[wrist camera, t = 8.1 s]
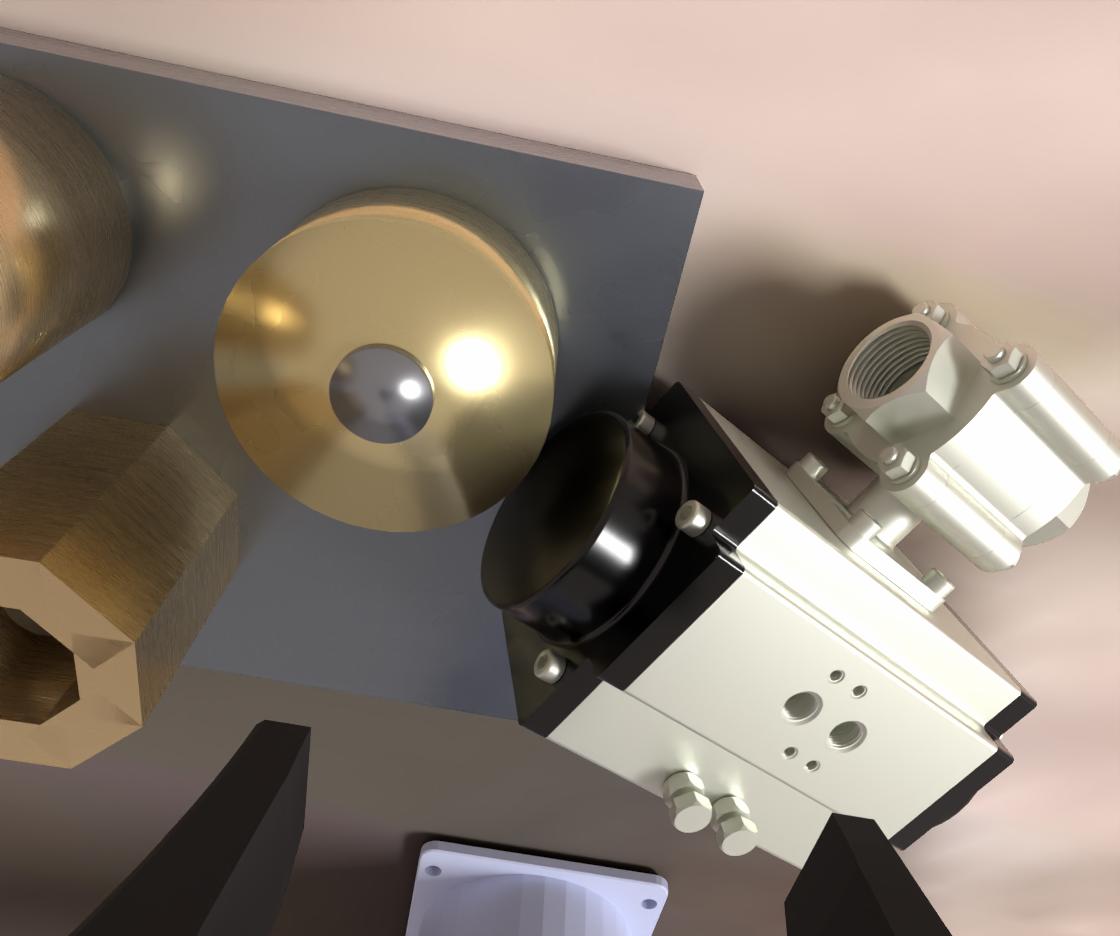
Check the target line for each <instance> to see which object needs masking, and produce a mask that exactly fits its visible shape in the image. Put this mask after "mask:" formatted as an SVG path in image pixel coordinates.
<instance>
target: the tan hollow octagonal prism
mask: <svg viewBox="0 0 1120 936" xmlns="http://www.w3.org/2000/svg"><path fill="white" fill-rule="evenodd" d="M238 568H239V559H238V494H237V493H236V492H235V491H234V490H233V489H232V488H231V487H230V486H229V485H228V484H227V483H226V482H225V481H224V480H223V479H222V478H221V477H220V476H219V475H218V474H217V473H216V472H215V471H214V470H212V469H211V468H210V467H209V466H208V465H207V464H206V463H205V462H204V461H203V460H202V459H201V458H200V457H199V456H198V455H197V454H196V453H195V452H194V451H193V450H192V449H191V448H190V447H189V446H188V445H187V444H186V443H185V442H184V441H183V440H182V439H181V438H180V437H179V436H178V435H177V434H176V433H175V432H174V431H173V430H172V429H171V428H170V427H169V426H164V425H158V424H152V423H146V422H140V421H134V420H128V419H122V418H116V417H110V416H104V415H99V414H93V413H87V412H81V411H75V410H70V411H69V412H68V413H67V414H65V415H64V416H63V417H62V418H60V419H59V420H58V421H57V422H55V423H54V424H53V425H51V426H50V427H49V428H48V429H46V430H45V431H44V432H43V433H41V434H40V435H39V436H37V437H36V438H35V439H34V440H32V441H31V442H30V443H29V444H27V445H26V446H25V447H24V448H22V449H21V450H20V451H18V452H17V453H16V454H15V455H13V456H12V457H11V458H10V459H8V460H7V461H6V462H5V463H3V464H2V465H1V466H0V759H7V760H14V761H21V762H28V763H35V764H42V765H49V766H56V767H63V768H70V769H71V768H73V767H75V766H76V765H78V764H80V763H82V762H83V761H85V760H87V759H88V758H90V757H92V756H93V755H95V754H97V753H99V752H100V751H102V750H104V749H105V748H107V747H109V746H110V745H112V744H114V743H115V742H117V741H119V740H121V739H122V738H124V737H126V736H127V735H129V734H131V733H132V732H134V731H136V730H138V729H139V728H141V727H143V725H144V723H145V722H146V720H147V718H148V717H149V715H150V713H151V712H152V710H153V708H154V707H155V705H156V703H157V702H158V700H159V698H160V697H161V695H162V694H163V692H164V690H165V689H166V687H167V685H168V684H169V682H170V680H171V679H172V677H173V675H174V674H175V672H176V670H177V669H178V667H179V665H180V664H181V662H182V660H183V659H184V657H185V655H186V654H187V652H188V651H189V649H190V647H191V646H192V644H193V642H194V641H195V639H196V637H197V636H198V634H199V632H200V631H201V629H202V627H203V626H204V624H205V622H206V621H207V619H208V617H209V616H210V614H211V612H212V611H213V609H214V608H215V606H216V604H217V603H218V601H219V599H220V598H221V596H222V594H223V593H224V591H225V589H226V588H227V586H228V584H229V583H230V581H231V579H232V578H233V576H234V574H235V573H236V571H237V569H238ZM4 607H7V608H14V609H20V610H21V611H22V612H24V613H25V614H26V615H27V616H29V617H30V618H31V619H32V620H34V621H35V622H36V623H37V624H38V625H40V626H41V627H42V628H43V629H45V630H46V631H47V632H48V633H50V634H51V635H52V636H47V635H40V634H36V633H33V632H31V631H28V630H26V629H24V628H23V627H21V626H20V625H18V624H17V623H16V622H15V621H13V620H12V619H11V617H10V616H9V615H8V614H7V612H6V611H5V609H4Z"/></svg>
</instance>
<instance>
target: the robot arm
mask: <svg viewBox="0 0 1120 936" xmlns="http://www.w3.org/2000/svg"><path fill="white" fill-rule="evenodd" d="M310 735H311V727H306V726H300V725H294V724H288V723H282V722H276V721H269V720H264V721H262V722H260V723H258V724H257V725H256V726H255V727H254V729H253V730H252V731H251V733H250V734H249V736H248V737H247V738H246V740H245V741H244V743H243V744H242V745H241V746H240V748H239V749H238V750H237V752H236V753H235V754H234V756H233V757H232V758H231V760H230V761H229V762H228V763H227V765H226V766H225V767H224V768H223V770H222V771H221V772H220V773H219V775H218V776H217V777H216V778H215V780H214V781H213V782H212V783H211V784H210V786H209V787H208V788H207V789H206V790H205V792H204V793H203V794H202V795H201V796H200V797H199V799H198V800H197V801H196V802H195V803H194V805H193V806H192V807H191V808H190V809H189V810H188V811H187V813H186V814H185V815H184V816H183V817H182V818H181V819H180V820H179V822H178V823H177V824H176V825H175V826H174V827H173V828H172V829H171V830H170V832H169V833H168V834H167V835H166V836H165V837H164V838H163V839H162V840H161V842H160V843H159V844H158V845H157V846H156V847H155V848H154V849H153V850H152V852H151V853H150V854H149V855H148V856H147V857H146V858H145V859H144V860H143V861H142V862H141V863H140V865H139V866H138V867H137V868H136V869H135V870H134V871H133V872H132V873H131V874H130V875H129V876H128V877H127V878H126V879H125V880H124V881H123V882H122V883H121V884H120V885H119V886H118V887H117V888H116V889H115V890H114V891H113V892H112V893H111V894H110V895H109V896H108V897H107V898H106V899H105V900H104V901H103V902H102V903H101V904H100V905H99V906H98V907H97V908H96V909H95V910H94V911H93V912H92V913H91V914H90V915H89V916H88V917H87V918H86V919H85V920H84V921H83V922H82V923H81V924H80V925H79V926H78V927H77V928H76V929H75V930H74V931H73V932H72V933H71V934H70V935H69V936H269V934H270V931H271V929H272V926H273V924H274V921H275V919H276V916H277V914H278V911H279V909H280V906H281V903H282V900H283V896H284V893H285V890H286V886H287V883H288V880H289V877H290V873H291V870H292V866H293V863H294V860H295V856H296V853H297V849H298V846H299V842H300V839H301V836H302V832H303V829H304V818H305V805H306V791H307V777H308V763H309V749H310ZM667 896H668V884H667V882H666V880H665V879H664V878H662V877H661V876H658V875H654V874H648V873H642V872H635V871H629V870H622V869H616V868H610V867H603V866H597V865H590V864H584V863H578V862H571V861H565V860H558V859H552V858H546V857H539V856H533V855H526V854H520V853H514V852H507V851H501V850H494V849H488V848H482V847H475V846H469V845H462V844H456V843H450V842H443V841H430V842H427V843H425V844H424V845H423V846H422V848H421V852H420V857H419V863H418V868H417V874H416V879H415V885H414V891H413V896H412V902H411V907H410V913H409V919H408V924H407V930H406V935H405V936H651V935H652V932H653V930H654V927H655V925H656V923H657V920H658V918H659V916H660V913H661V911H662V908H663V906H664V904H665V901H666V899H667ZM784 904H785V916H786V928H787V936H952V935H951V933H950V932H949V930H948V929H947V927H946V926H945V924H944V923H943V921H942V920H941V918H940V917H939V915H938V914H937V912H936V911H935V909H934V908H933V906H932V905H931V904H930V902H929V901H928V899H927V898H926V896H925V895H924V893H923V892H922V890H921V889H920V887H919V886H918V884H917V883H916V881H915V880H914V878H913V877H912V875H911V874H910V872H909V871H908V869H907V867H906V866H905V864H904V863H903V861H902V860H901V858H900V857H899V855H898V854H897V852H896V851H895V849H894V848H893V846H892V845H891V843H890V842H889V840H888V839H887V837H886V836H885V834H884V833H883V831H882V830H881V829H880V827H879V826H878V824H877V823H876V821H875V820H874V819H869V818H862V817H856V816H850V815H844V814H838V813H831V815H830V817H829V819H828V821H827V823H826V825H825V827H824V829H823V830H822V832H821V834H820V836H819V838H818V840H817V842H816V844H815V845H814V847H813V849H812V851H811V853H810V855H809V857H808V859H807V861H806V862H805V864H804V866H803V868H802V870H801V872H800V874H799V876H798V878H797V879H796V881H795V883H794V885H793V887H792V889H791V891H790V893H789V894H788V896H787V898H786V900H785V902H784Z"/></svg>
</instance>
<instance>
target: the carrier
mask: <svg viewBox="0 0 1120 936" xmlns="http://www.w3.org/2000/svg"><path fill="white" fill-rule="evenodd" d="M703 193H704V190H703V188H702V186H701V185H700V183H699V181H698V179H697V177H696V175H692V174H688V173H683V172H678V171H673V170H669V169H664V168H659V167H655V166H650V165H645V164H640V163H636V162H631V161H626V160H622V159H617V158H612V157H608V156H603V155H598V154H593V153H589V152H584V151H579V150H575V149H570V148H565V147H560V146H556V145H551V144H546V143H542V142H537V141H532V140H528V139H523V138H518V137H513V136H509V135H504V134H499V133H495V132H490V131H485V130H480V129H476V128H471V127H466V126H462V125H457V124H452V123H448V122H443V121H438V120H433V119H429V118H424V117H419V116H415V115H410V114H405V113H400V112H396V111H391V110H386V109H382V108H377V107H372V106H368V105H363V104H358V103H353V102H349V101H344V100H339V99H335V98H330V97H325V96H320V95H316V94H311V93H306V92H302V91H297V90H292V89H288V88H283V87H278V86H273V85H269V84H264V83H259V82H255V81H250V80H245V79H240V78H236V77H231V76H226V75H222V74H217V73H212V72H208V71H203V70H198V69H193V68H189V67H184V66H179V65H175V64H170V63H165V62H160V61H156V60H151V59H146V58H142V57H137V56H132V55H128V54H123V53H118V52H113V51H109V50H104V49H99V48H95V47H90V46H85V45H80V44H76V43H71V42H66V41H62V40H57V39H52V38H48V37H43V36H38V35H33V34H29V33H24V32H19V31H15V30H10V29H5V28H0V466H1V465H2V464H3V463H5V462H6V461H7V460H8V459H10V458H11V457H12V456H13V455H15V454H16V453H17V452H18V451H20V450H21V449H22V448H24V447H25V446H26V445H27V444H29V443H30V442H31V441H32V440H34V439H35V438H36V437H37V436H39V435H40V434H41V433H43V432H44V431H45V430H46V429H48V428H49V427H50V426H51V425H53V424H54V423H55V422H57V421H58V420H59V419H60V418H62V417H63V416H64V415H65V414H67V413H68V412H69V411H70V410H75V411H81V412H87V413H93V414H99V415H104V416H110V417H116V418H122V419H128V420H134V421H140V422H146V423H152V424H158V425H164V426H169V427H170V428H171V429H172V430H173V431H174V432H175V433H176V434H177V435H178V436H179V437H180V438H181V439H182V440H183V441H184V442H185V443H186V444H187V445H188V446H189V447H190V448H191V449H192V450H193V451H194V452H195V453H196V454H197V455H198V456H199V457H200V458H201V459H202V460H203V461H204V462H205V463H206V464H207V465H208V466H209V467H210V468H211V469H212V470H214V471H215V472H216V473H217V474H218V475H219V476H220V477H221V478H222V479H223V480H224V481H225V482H226V483H227V484H228V485H229V486H230V487H231V488H232V489H233V490H234V491H235V492H236V493H237V494H238V559H239V568H238V569H237V571H236V573H235V574H234V576H233V578H232V579H231V581H230V583H229V584H228V586H227V588H226V589H225V591H224V593H223V594H222V596H221V598H220V599H219V601H218V603H217V604H216V606H215V608H214V609H213V611H212V612H211V614H210V616H209V617H208V619H207V621H206V622H205V624H204V626H203V627H202V629H201V631H200V632H199V634H198V636H197V637H196V639H195V641H194V642H193V644H192V646H191V647H190V649H189V651H188V652H187V654H186V655H185V657H184V659H183V660H182V662H181V664H180V665H186V666H192V667H198V668H204V669H210V670H216V671H222V672H228V673H234V674H240V675H246V676H252V677H258V678H264V679H270V680H276V681H282V682H288V683H294V684H300V685H306V686H312V687H318V688H324V689H330V690H336V691H342V692H348V693H354V694H360V695H366V696H372V697H378V698H384V699H390V700H396V701H402V702H408V703H414V704H420V705H426V706H432V707H438V708H444V709H450V710H456V711H462V712H468V713H474V714H480V715H486V716H492V717H498V718H504V719H510V720H516V721H518V715H517V709H516V702H515V696H514V689H513V683H512V676H511V670H510V663H509V657H508V650H507V644H506V637H505V631H504V624H503V618H502V611H501V610H499V609H498V608H496V607H494V606H493V605H492V604H491V603H490V602H489V601H488V599H487V598H486V596H485V595H484V592H483V589H482V585H481V561H482V555H483V550H484V547H485V543H486V539H487V537H488V534H489V531H490V528H491V526H492V523H493V521H494V518H495V516H496V514H497V512H498V510H499V508H500V506H501V504H502V502H503V500H504V498H505V497H506V496H507V495H508V494H509V493H510V492H511V491H512V490H514V489H515V488H516V486H517V485H518V484H519V483H520V482H521V481H522V480H523V478H524V477H525V476H526V475H527V474H528V472H529V470H530V469H531V467H532V466H533V464H534V463H535V461H536V460H537V458H538V456H539V453H540V451H541V449H542V447H543V446H544V445H545V444H546V443H547V442H548V441H549V440H550V439H551V438H552V437H553V436H555V435H556V434H557V433H558V432H559V431H561V430H562V429H563V428H565V427H566V426H567V425H569V424H570V423H572V422H573V421H575V420H577V419H578V418H580V417H582V416H585V415H587V414H590V413H593V412H597V411H612V412H615V413H617V414H619V415H621V416H623V417H624V418H625V419H627V420H628V421H630V420H631V421H632V422H633V423H634V424H635V423H636V422H637V420H638V418H639V415H637V413H638V412H639V411H640V410H645V406H646V403H647V399H648V395H649V392H650V388H651V384H652V381H653V377H654V373H655V370H656V366H657V362H658V359H659V355H660V351H661V347H662V344H663V340H664V336H665V333H666V329H667V325H668V322H669V318H670V314H671V311H672V307H673V303H674V300H675V296H676V292H677V289H678V285H679V281H680V278H681V274H682V270H683V267H684V263H685V259H686V256H687V252H688V248H689V245H690V241H691V237H692V234H693V230H694V226H695V223H696V219H697V215H698V211H699V208H700V204H701V200H702V197H703ZM4 609H5V611H6V612H7V614H8V615H9V616H10V617H11V619H12V620H13V621H15V622H16V623H17V624H18V625H20V626H21V627H23V628H24V629H26V630H28V631H31V632H33V633H36V634H40V635H47V636H52V635H51V634H50V633H48V632H47V631H46V630H45V629H43V628H42V627H41V626H40V625H38V624H37V623H36V622H35V621H34V620H32V619H31V618H30V617H29V616H27V615H26V614H25V613H24V612H22V611H21V610H20V609H14V608H7V607H4Z"/></svg>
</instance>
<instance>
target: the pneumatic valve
mask: <svg viewBox="0 0 1120 936" xmlns="http://www.w3.org/2000/svg"><path fill="white" fill-rule="evenodd" d="M821 412H822V413H823V414H824V415H825V416H826V418H825V422H824V425H825V429H826V430H827V432H828V433H830V434H831V435H832V436H833V437H834V438H836V439H837V440H838V441H839V442H840V443H841V444H843V445H844V446H845V447H846V448H847V449H848V450H850V451H851V452H852V453H853V454H854V455H855V456H857V457H858V458H859V459H860V460H861V461H862V462H864V463H865V464H866V465H867V466H868V467H869V468H871V469H872V470H873V471H874V472H875V473H877V474H878V475H879V476H878V477H877V478H875V479H874V480H873V481H872V482H871V483H870V484H869V485H868V486H867V487H866V488H865V489H864V490H863V491H862V492H861V493H860V494H859V495H858V496H857V497H856V498H855V499H854V500H853V501H852V502H851V503H849V502H848V501H846V500H845V499H844V498H843V497H841V496H840V495H839V494H838V493H837V492H835V491H834V490H833V489H832V488H830V487H829V486H828V485H827V484H826V483H824V482H823V481H822V480H821V479H820V478H821V477H822V476H823V475H824V474H825V473H826V472H827V471H828V467H827V466H826V465H825V464H824V463H823V462H822V461H821V460H820V459H819V458H817V457H816V456H815V455H814V454H813V453H811V452H808V453H807V454H806V455H805V456H804V457H803V458H802V459H801V460H800V461H799V462H798V461H796V462H795V463H794V464H793V465H792V466H791V467H790V468H789V469H788V468H786V467H785V466H784V465H783V464H781V463H780V462H779V461H778V460H776V459H775V458H774V457H773V456H771V455H770V454H769V453H768V452H766V451H765V450H764V449H763V448H761V447H760V446H759V445H758V444H756V443H755V442H754V441H753V440H751V439H750V438H749V437H748V436H746V435H745V434H744V433H743V432H741V431H740V430H739V429H738V428H737V427H735V426H734V425H733V424H732V423H730V422H729V421H728V420H727V419H725V418H724V417H723V416H722V415H720V414H719V413H718V412H717V411H715V410H714V409H713V408H712V407H710V406H709V405H708V404H707V403H705V402H704V401H703V400H702V399H700V398H699V397H698V396H697V395H695V394H694V393H693V392H692V391H690V390H689V389H688V388H687V387H685V386H684V385H683V384H682V383H680V382H679V381H678V382H676V383H675V384H674V385H673V386H672V387H671V388H670V389H669V390H668V392H667V393H666V394H665V395H664V396H663V397H662V398H661V399H660V400H659V402H658V403H657V404H656V405H655V406H654V407H653V408H652V409H651V410H650V411H649V413H647V412H645V411H644V410H640V411H639V412H638V413H637V415H639V418H638V420H637V422H636V423H635V424H634V423H633V422H632V421H631V420H630V421H628V420H627V419H625V418H624V417H623V416H621V415H619V414H617V413H615V412H612V411H597V412H593V413H590V414H587V415H585V416H582V417H580V418H578V419H577V420H575V421H573V422H572V423H570V424H569V425H567V426H566V427H565V428H563V429H562V430H561V431H559V432H558V433H557V434H556V435H555V436H553V437H552V438H551V439H550V440H549V441H548V442H547V443H546V444H545V445H544V446H543V447H542V449H541V451H540V453H539V456H538V458H537V460H536V461H535V463H534V464H533V466H532V467H531V469H530V470H529V472H528V474H527V475H526V476H525V477H524V478H523V480H522V481H521V482H520V483H519V484H518V485H517V486H516V488H515V489H514V490H512V491H511V492H510V493H509V494H508V495H507V496H506V497H505V498H504V500H503V502H502V504H501V506H500V508H499V510H498V512H497V514H496V516H495V518H494V521H493V523H492V526H491V528H490V531H489V534H488V537H487V539H486V543H485V547H484V550H483V555H482V561H481V585H482V589H483V592H484V595H485V596H486V598H487V599H488V601H489V602H490V603H491V604H492V605H493V606H494V607H496V608H498V609H499V610H501V611H502V618H503V624H504V631H505V637H506V644H507V650H508V657H509V663H510V670H511V676H512V683H513V689H514V696H515V702H516V709H517V715H518V722H519V724H520V725H521V726H523V727H525V728H527V729H529V730H531V731H533V732H535V733H537V734H539V735H541V736H543V737H545V738H547V739H549V740H551V741H553V742H554V743H556V744H558V745H560V746H562V747H564V748H566V749H568V750H570V751H572V752H574V753H576V754H578V755H580V756H582V757H584V758H586V759H588V760H590V761H591V762H593V763H595V764H597V765H599V766H601V767H603V768H605V769H607V770H609V771H611V772H613V773H615V774H617V775H619V776H621V777H623V778H625V779H626V780H628V781H630V782H632V783H634V784H636V785H638V786H640V787H642V788H644V789H646V790H648V791H650V792H652V793H654V794H656V795H658V796H660V797H661V798H663V799H664V802H665V804H666V805H667V806H668V807H669V808H670V810H669V813H668V815H669V818H670V821H671V823H672V824H673V825H674V826H675V827H676V828H677V829H678V830H680V831H682V832H686V833H690V832H696V831H699V830H701V829H703V828H704V827H705V826H707V825H708V823H709V822H710V825H711V827H712V828H713V829H714V830H715V831H716V832H717V834H716V837H715V839H716V841H717V844H718V847H719V848H720V849H721V850H722V851H723V852H724V853H726V854H728V855H731V856H739V855H743V854H746V853H748V852H749V851H751V850H752V849H753V848H754V847H755V846H757V847H759V848H761V849H763V850H765V851H767V852H768V853H770V854H772V855H774V856H776V857H778V858H780V859H782V860H784V861H786V862H788V863H790V864H792V865H794V866H796V867H798V868H800V869H802V868H803V866H804V864H805V862H806V861H807V859H808V857H809V855H810V853H811V851H812V849H813V847H814V845H815V844H816V842H817V840H818V838H819V836H820V834H821V832H822V830H823V829H824V827H825V825H826V823H827V821H828V819H829V817H830V815H831V813H838V814H844V815H850V816H856V817H862V818H869V819H874V820H875V821H876V823H877V824H878V826H879V827H880V829H881V830H882V831H883V833H884V834H885V836H886V837H887V839H888V840H889V842H890V843H891V845H892V846H894V847H896V848H898V849H899V850H905V849H906V848H907V847H909V846H910V845H911V844H912V843H914V842H915V841H916V840H917V839H919V838H920V837H921V836H922V835H924V834H925V833H926V832H927V831H929V830H930V829H931V828H932V827H935V826H937V825H939V824H942V823H943V822H945V821H947V820H949V819H950V818H952V817H953V816H954V815H956V814H957V813H958V812H959V811H960V810H961V809H963V808H964V807H965V806H966V805H967V804H968V803H969V802H970V800H971V799H972V798H973V796H974V795H975V794H976V793H977V791H978V790H980V789H981V788H982V787H983V786H985V785H986V784H987V783H988V782H990V781H991V780H992V779H993V778H995V777H996V776H997V775H998V774H1000V773H1001V772H1002V771H1003V770H1005V769H1006V768H1007V767H1008V766H1010V765H1011V764H1012V763H1013V761H1014V758H1013V756H1012V755H1011V754H1010V752H1009V751H1008V750H1007V749H1006V747H1005V746H1004V745H1003V744H1002V743H1001V741H1000V740H1001V738H1002V737H1003V733H1005V732H1006V731H1007V730H1008V729H1010V728H1011V727H1012V726H1013V725H1014V724H1016V723H1017V722H1018V721H1019V720H1021V719H1022V718H1023V717H1024V716H1025V715H1027V714H1028V713H1029V712H1030V711H1032V710H1033V709H1034V708H1035V707H1036V705H1037V702H1036V701H1035V700H1034V698H1033V697H1032V696H1031V695H1030V694H1029V693H1028V692H1027V691H1026V690H1025V689H1024V687H1023V686H1022V685H1021V684H1020V683H1019V682H1018V681H1017V680H1016V679H1015V678H1014V677H1013V675H1012V674H1011V673H1010V672H1009V671H1008V670H1007V669H1006V668H1005V667H1004V666H1003V664H1002V663H1001V662H1000V661H999V660H998V659H997V658H996V657H995V656H994V655H993V653H992V652H991V651H990V650H989V649H988V648H987V647H986V646H985V645H984V644H983V643H982V641H981V640H980V639H979V638H978V637H977V636H976V635H975V634H974V633H973V632H972V630H971V629H970V628H969V627H968V626H967V625H966V624H965V623H964V622H963V621H962V619H961V618H960V617H959V616H958V615H957V614H956V613H955V612H954V611H953V610H952V608H951V607H950V606H949V605H948V604H947V603H946V602H945V599H944V598H945V597H946V596H947V595H948V594H949V593H950V592H951V591H953V590H954V588H955V586H954V585H953V584H952V583H951V581H950V580H949V579H947V578H946V577H945V576H944V575H943V574H942V573H941V572H940V571H939V570H937V569H936V568H932V569H931V570H930V571H929V572H928V573H927V574H926V575H925V576H923V575H922V574H921V573H920V572H919V571H918V570H917V568H916V567H915V566H914V565H913V564H912V563H911V562H910V561H909V560H908V559H907V558H906V556H905V555H904V554H903V553H902V552H901V551H900V550H899V549H898V548H897V547H896V544H897V543H898V542H900V541H901V540H902V539H903V538H904V537H905V536H906V535H907V534H908V533H909V532H910V531H911V530H912V529H913V528H914V527H916V526H917V525H918V524H919V523H920V522H921V521H923V522H925V523H926V524H927V525H928V526H929V527H930V528H932V529H933V530H934V531H935V532H936V533H938V534H939V535H940V536H941V537H942V538H943V539H945V540H946V541H947V542H948V543H949V544H951V545H952V546H953V547H954V548H955V549H956V550H958V551H959V552H960V553H961V554H962V555H964V556H965V557H966V558H967V559H968V560H969V561H971V562H972V563H973V564H974V565H975V566H977V567H978V568H979V569H980V570H982V571H985V572H998V571H1002V570H1006V569H1009V568H1012V567H1014V566H1015V565H1016V564H1017V562H1018V560H1019V557H1020V554H1021V549H1022V547H1027V546H1032V545H1036V544H1040V543H1043V542H1046V541H1048V540H1051V539H1053V538H1055V537H1057V536H1059V535H1060V534H1062V533H1064V532H1065V531H1066V530H1068V529H1069V528H1070V527H1071V526H1072V525H1073V524H1074V523H1075V521H1076V520H1077V519H1078V517H1079V515H1080V514H1081V512H1082V510H1083V508H1084V506H1085V503H1086V500H1087V496H1088V492H1089V487H1090V483H1094V482H1098V483H1100V482H1104V481H1108V480H1110V479H1113V478H1115V477H1116V476H1117V475H1118V473H1119V471H1120V441H1119V440H1118V439H1117V438H1116V437H1115V436H1114V435H1113V434H1112V433H1111V432H1110V431H1109V430H1108V428H1107V427H1106V426H1105V425H1104V424H1103V423H1102V422H1101V421H1100V420H1099V419H1098V418H1097V416H1096V415H1095V414H1094V413H1093V412H1092V411H1091V410H1090V409H1089V408H1088V407H1087V406H1086V405H1085V403H1084V402H1083V401H1082V400H1081V399H1080V398H1079V397H1078V396H1077V395H1076V394H1075V393H1074V391H1073V390H1072V389H1071V388H1070V387H1069V386H1068V385H1067V384H1066V383H1065V382H1064V381H1063V380H1062V378H1061V377H1060V376H1059V375H1058V374H1057V373H1056V372H1055V371H1054V370H1053V369H1052V368H1051V367H1050V365H1049V364H1048V363H1047V362H1046V361H1045V360H1044V359H1043V358H1042V357H1041V356H1040V355H1039V353H1038V352H1037V351H1036V350H1035V349H1034V348H1033V347H1031V346H1030V345H1026V344H1016V345H1011V344H1010V343H1008V342H1006V341H1002V342H999V343H997V342H996V341H995V340H994V339H993V338H992V337H991V336H989V335H988V334H987V333H985V332H984V331H982V330H980V329H978V328H976V327H974V326H973V325H972V324H971V322H970V321H969V320H968V319H967V318H966V317H965V316H964V315H963V314H962V313H961V312H960V311H959V310H958V309H957V308H956V307H955V306H954V305H953V304H951V303H942V304H936V303H935V302H933V301H931V300H928V301H926V302H921V303H919V304H917V305H916V306H915V307H914V308H913V310H912V314H910V315H905V316H901V317H898V318H895V319H893V320H891V321H889V322H887V323H885V324H883V325H881V326H880V327H878V328H877V329H875V330H874V331H873V332H871V333H870V334H869V335H868V336H866V337H865V338H864V339H863V340H862V341H861V342H860V343H859V344H858V345H857V347H856V348H855V349H854V350H853V352H852V353H851V354H850V356H849V357H848V359H847V360H846V362H845V364H844V366H843V368H842V371H841V374H840V377H839V382H838V387H837V393H834V394H831V395H828V396H827V397H826V398H825V399H824V402H823V406H822V409H821Z"/></svg>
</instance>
